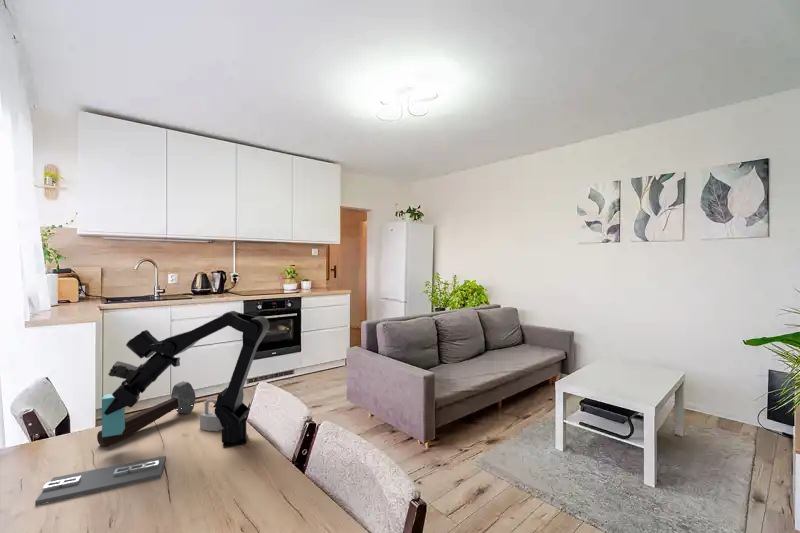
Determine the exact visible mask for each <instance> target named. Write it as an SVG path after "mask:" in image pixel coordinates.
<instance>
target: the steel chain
mask: <svg viewBox="0 0 800 533" xmlns="http://www.w3.org/2000/svg"><path fill="white" fill-rule="evenodd" d="M158 465H159V460H158V461H153V462H148V463H143V464H138V465H133V466H128V467H123V468H118V469H116V470H115V472H114V474H113V477H115V476H120V475H125V474H130V473H135V472H139V471H144V470H149V469H154V468H158ZM80 480H81V476H78V477H73V478H68V479H63V480H58V481H53V482H50V481H49V482H46V483H45V484H44V485H43V487H42V488H41V489H42V492H43V491H48V490H53V489H58V488H62V487H67V486H72V485H77V484H78V483H79V482H80ZM42 492H41V493H42Z"/></svg>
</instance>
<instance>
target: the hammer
mask: <svg viewBox="0 0 800 533" xmlns="http://www.w3.org/2000/svg"><path fill="white" fill-rule="evenodd" d="M172 387H173V388H172V390H171V396H170V399H167V400H164V401H163V402H161V403H157V404H156V405H154V406H151V407H149V408H146V409H144V410H141V411H140V412H137V413H135V414H133V415H130V416H128V417H125V429H124V431H123V432H122V434H119V435H113V436H107V437H102V429H101V430H99V431H98V432H97V434H96V435H97V436H96V438H97V439H96V440H97V443H98V445H99V446H101V447H105V448H107V447H110V446H112V445H115V444H117V443H119V442H120V441H122V440H125V439H127V438H129V437H130V436H131V435H133V434H136V433H137V432H138V431H139V432H140V430H142V429H144V428H146V427H147V426H149V425H150V424H152V423H154V422H155V421H157V420H159V419H161V418H162V417H164V416H165V415H167V414H169V413H171V412H173V411H174V410H175V411H176V412H177V413H179V414H183V413H184V415H188V414H191V413H192V412H193V410H194V408H195V404H196V403H195V402H196V397H197V396H196V392H195V389H194V388H193V385H192V384H191V383H190V382H188V381H181V382H178V383H176V384H175V385H173V386H172ZM191 405H193V406H191ZM181 408H182V409H181ZM176 409H178V410H176Z"/></svg>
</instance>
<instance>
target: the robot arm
mask: <svg viewBox="0 0 800 533" xmlns="http://www.w3.org/2000/svg"><path fill="white" fill-rule="evenodd" d="M270 326H271V322H269V319H268V318H266V317H264V316H263V315H260V316H255V315H251V314H247V313H240V312H238V311H235V310H231V311H227V312H225V313H223V314H222V315H221V316H218V317H216V318H214V319H212V320H211V321H208V322H206V323H204V324H202V325H200V326H197V327H196V328H194V329H192V330H188V331H185V332H182V333H178V334H175V335H172V336H170V337H167V338H165V339H162V340H158V339H157V338H156V337H154V336H153V335H152V334H151V332H150V331H149V330H148V329H145V330H142V331H141V332H140V333H138V334H137V335H135V336H134V337H133V338H131V339H129V340H128V341H127V342H126V344H125V346H126V348H128V349H129V350H130V351H131V352H132V353H133V354H135V355H136V356H137V357H138V358H139V359H144V358H145V359H147V360H146V361H145V362H144V363H141V364H140V365H139V366H136V365H133V364H131V363H127V362H123V361H116V362H114V364H113V365H112V367H111V368H110V369H109V372H108V376H109V377H116V378H119V379H123V380H122V382H121V384H120V385H119V386H118V387H117V388H116V389H115V390H114V391H113V392H112V393H111V394H112V395H113V397H115V399H114V400H113V401H112V403H111V404H110V405H109V407H108V408H107V409H106V411H105V412H104V414H106V415H109V414H111V413H113V412H115V411H117V410H119V409H122V408H124V407H125V408H133V407H134V406H135V405H136V404H137V403H138V401H139V400H140V394H142V393H144V392H145V391H146V389H147V388H148V387H149V386H150V385H151V384H153V383H154V382H155V381H157V379H158V378H159V376H161V375H162V374H163V373H164V372H165V371H166V370H167V369H168V368H169V367H170V366H173V367H175V368H176V367H180V365H181V363H180V362H181V361H180V360H181V356H180V357H179V356H178V357H176V356H177V355H179V354H182V353H184V352H186V351H187V350H189V349H190V348H192V347H193V346H194V345H195V344H197V342H199V341H200V340H202V339H204V338H207V337H208V336H211V335H213V334H214V333H216V332H218V331H221V330H223V329H225V328H227V327H231V328H232V329H234V330H236V331H238V332H241V333H242V336H241V339H242V345H241V350H240V352H239V355H238V359H237V361H236V364H235V367H234V369H233V372H232V374H231V378H230V381H229V384H228V386H227V387H226V388H224V389H222V390H221V392H219V393H218V394H217V397H216V400H217V401H216V404H214V405H213V408H214V412H215V414H216V416H217V417H218V418H219V421H220V423H221V426H222V429H221V443H222V447H223V448H226V447H227V448H228V447H233V446H240V445H246V444H247V441H248V433H247V432H248V430H247V428H248V427H247V425H248V424H247V422H248V421H247V416H249V413H250V411H251V410H250V407H248V406H247V404H245V403H244V402H243V401H244V396H245V395H244V387H245V384H246V381H247V378H248V375H249V372H250V370H251V367H252V364H253V361H254V358H255V356H256V353H257V350H258V347H259V345H260V344H261V343H262V341H263V339H264V338H265V336H266V335H267V333H268V331H269V330H270ZM215 407H216V408H215Z"/></svg>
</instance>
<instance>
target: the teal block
mask: <svg viewBox="0 0 800 533" xmlns="http://www.w3.org/2000/svg"><path fill="white" fill-rule="evenodd" d="M112 394H113V393H107V394H105V395H104V396H103V397H102V398H101V430H102V437H107V436H113V435H119V434H122V432H123V431H124V429H125V418H126V409H125V408H126V407H124V408H122V409H119V410H117V411H115V412H113V413H111V414H109V415H106V414H104V412H105V411H106V409H107V408H108V407H109V405H110V404H111V403H112V401H113V400H114V399H115V397H113V395H112Z"/></svg>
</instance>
